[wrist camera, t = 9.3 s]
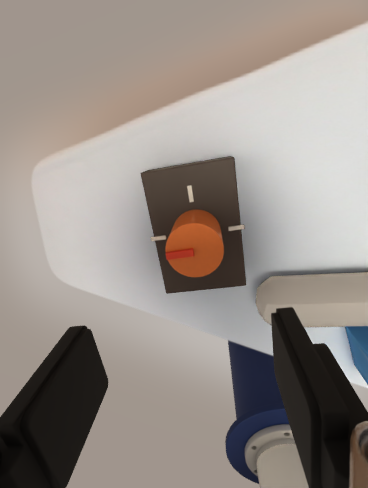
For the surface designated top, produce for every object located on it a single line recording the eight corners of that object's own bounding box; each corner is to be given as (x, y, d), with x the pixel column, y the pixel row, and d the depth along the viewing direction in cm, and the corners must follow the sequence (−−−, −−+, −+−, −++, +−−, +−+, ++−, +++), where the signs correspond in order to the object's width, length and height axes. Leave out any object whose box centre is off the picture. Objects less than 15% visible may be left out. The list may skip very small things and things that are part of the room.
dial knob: (217, 205, 23) (219, 219, 18) (224, 251, 24) (227, 275, 20) (168, 213, 23) (159, 229, 19) (177, 258, 25) (171, 282, 20)
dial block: (245, 271, 28) (249, 286, 25) (167, 280, 29) (163, 295, 26) (234, 155, 24) (238, 156, 21) (144, 170, 25) (136, 173, 22)
